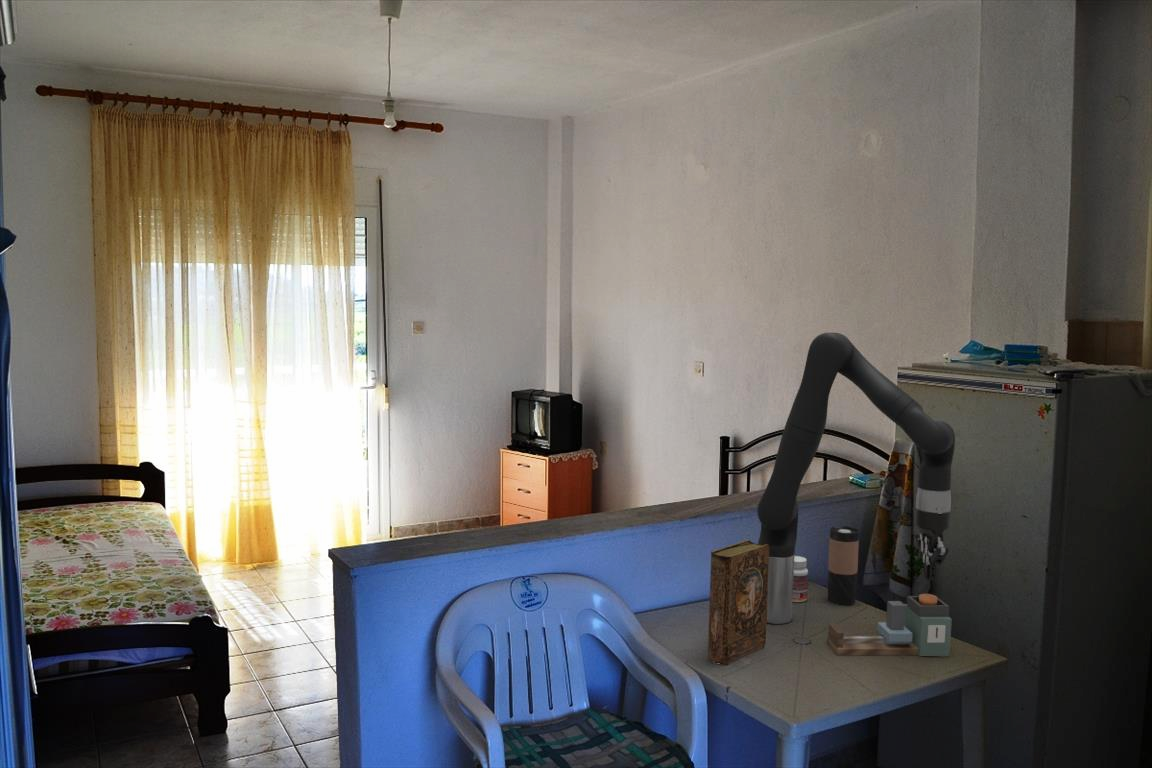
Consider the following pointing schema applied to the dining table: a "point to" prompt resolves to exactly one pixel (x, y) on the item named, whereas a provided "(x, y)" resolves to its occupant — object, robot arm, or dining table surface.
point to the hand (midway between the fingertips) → (929, 579)
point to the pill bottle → (800, 579)
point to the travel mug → (843, 565)
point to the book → (738, 601)
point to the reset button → (927, 599)
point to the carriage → (895, 625)
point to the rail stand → (865, 644)
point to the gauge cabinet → (929, 626)
